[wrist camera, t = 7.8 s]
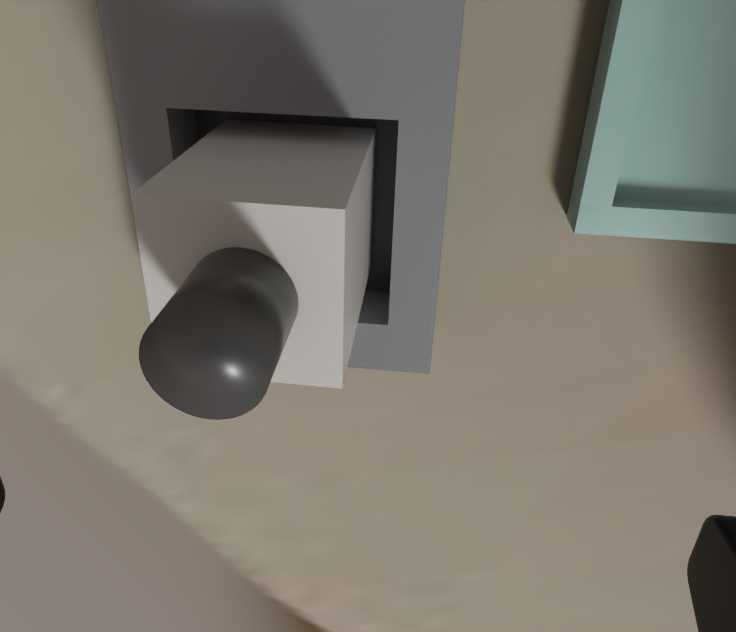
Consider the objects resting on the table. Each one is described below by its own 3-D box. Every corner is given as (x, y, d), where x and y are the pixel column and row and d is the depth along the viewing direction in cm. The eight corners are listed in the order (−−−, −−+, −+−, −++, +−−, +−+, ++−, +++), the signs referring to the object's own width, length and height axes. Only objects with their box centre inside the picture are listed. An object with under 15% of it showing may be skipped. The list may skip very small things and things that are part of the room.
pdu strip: (431, 328, 20) (429, 384, 17) (186, 309, 21) (149, 360, 18) (512, -554, 11) (532, -710, 8) (70, -542, 12) (-37, -684, 9)
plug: (371, 265, 18) (323, 469, 11) (237, 255, 19) (108, 447, 12) (376, 127, 16) (323, 267, 9) (226, 119, 17) (61, 247, 10)
